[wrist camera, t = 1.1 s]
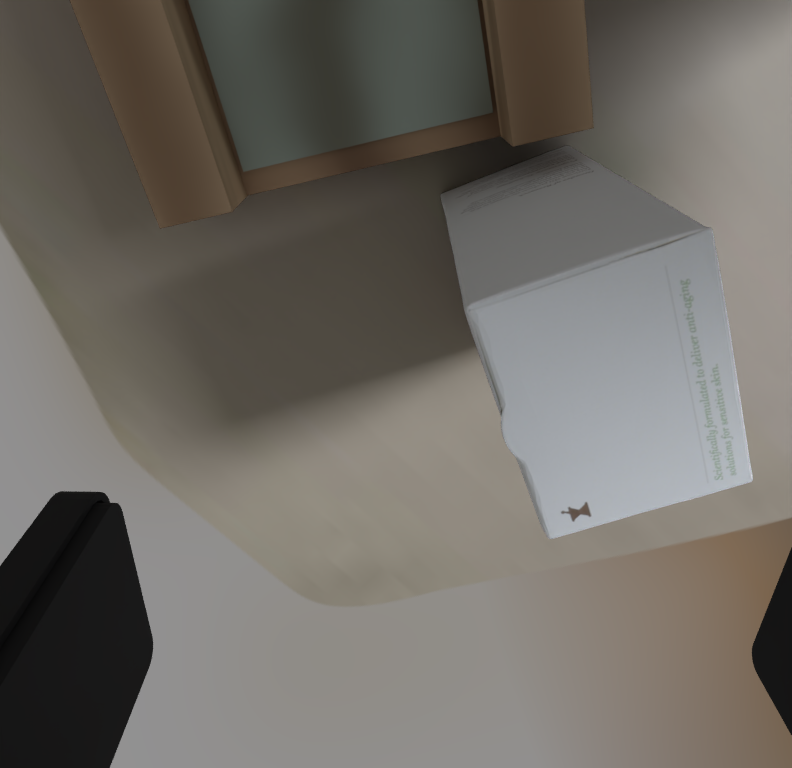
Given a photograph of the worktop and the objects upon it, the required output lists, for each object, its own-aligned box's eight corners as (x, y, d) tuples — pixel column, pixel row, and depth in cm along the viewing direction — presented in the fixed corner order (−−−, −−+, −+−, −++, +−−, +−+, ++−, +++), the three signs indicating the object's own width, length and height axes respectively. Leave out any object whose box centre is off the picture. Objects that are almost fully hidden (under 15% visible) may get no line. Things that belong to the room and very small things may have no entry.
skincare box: (606, 301, 32) (767, 493, 19) (480, 343, 33) (544, 555, 20) (568, 134, 29) (732, 220, 15) (427, 188, 30) (459, 314, 16)
